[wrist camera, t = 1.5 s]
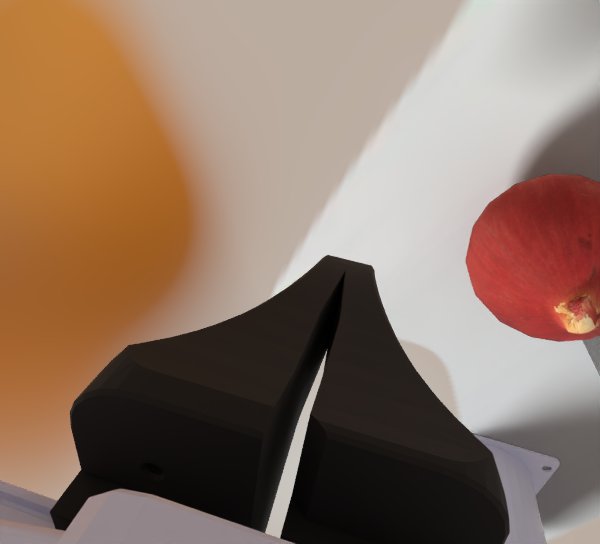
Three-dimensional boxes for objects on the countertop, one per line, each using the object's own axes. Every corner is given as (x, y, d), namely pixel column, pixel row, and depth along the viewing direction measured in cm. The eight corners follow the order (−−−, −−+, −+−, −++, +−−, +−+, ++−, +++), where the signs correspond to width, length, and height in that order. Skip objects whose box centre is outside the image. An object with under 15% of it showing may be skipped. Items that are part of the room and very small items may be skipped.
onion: (645, 187, 17) (788, 298, 10) (549, 293, 20) (610, 430, 13) (510, 127, 17) (566, 198, 10) (436, 242, 20) (441, 353, 14)
